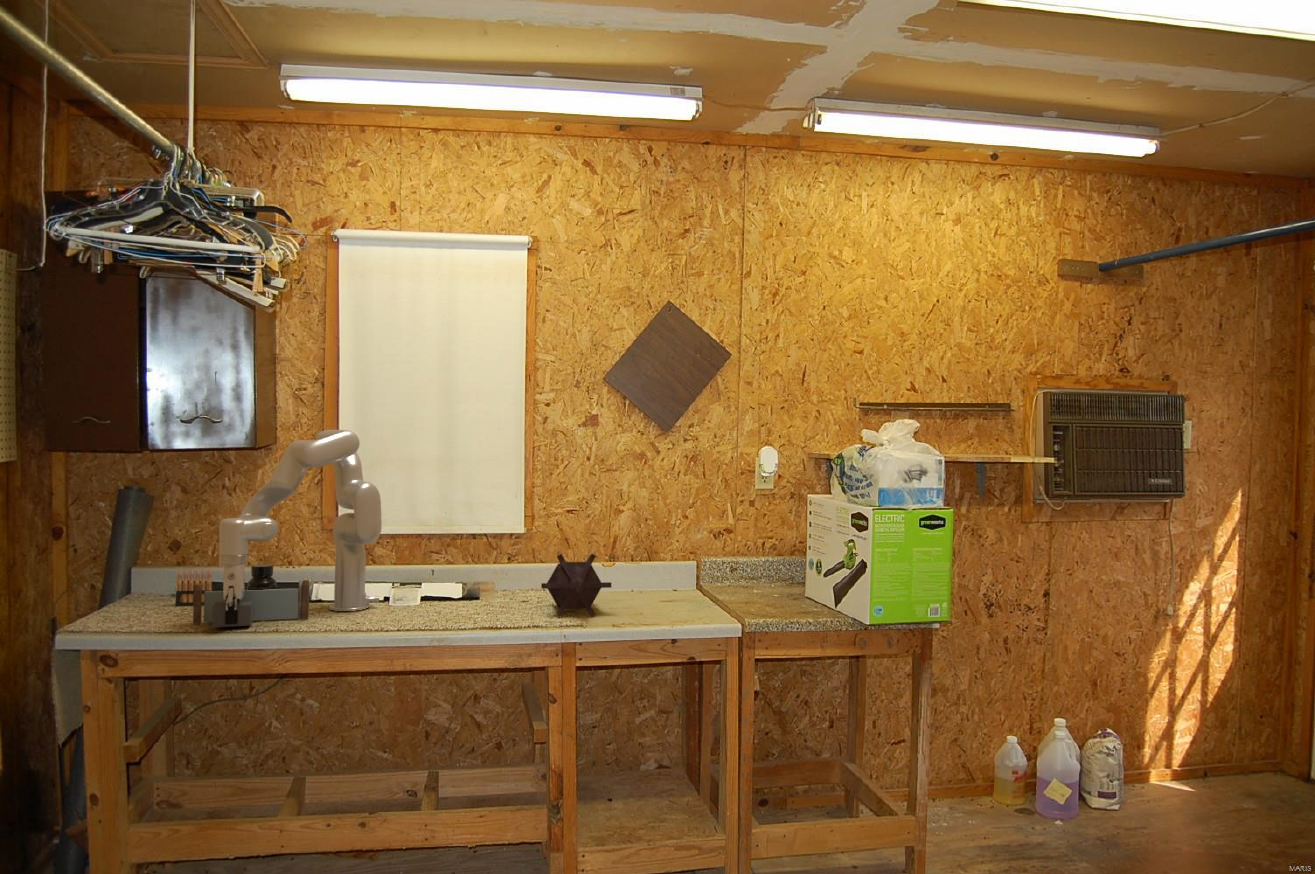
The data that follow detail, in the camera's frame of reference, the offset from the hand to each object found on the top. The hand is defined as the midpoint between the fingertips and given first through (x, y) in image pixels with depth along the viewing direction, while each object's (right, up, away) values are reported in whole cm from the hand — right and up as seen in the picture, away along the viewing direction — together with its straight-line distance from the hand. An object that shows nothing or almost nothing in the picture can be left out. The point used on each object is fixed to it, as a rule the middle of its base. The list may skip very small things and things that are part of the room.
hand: (232, 620), depth 247 cm
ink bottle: (-11, -2, +41) cm, 43 cm away
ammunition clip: (-28, -2, +30) cm, 41 cm away
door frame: (+2, -2, +8) cm, 9 cm away
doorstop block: (0, -1, 0) cm, 1 cm away
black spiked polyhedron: (+97, -5, +32) cm, 103 cm away
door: (+1, -2, +9) cm, 9 cm away
